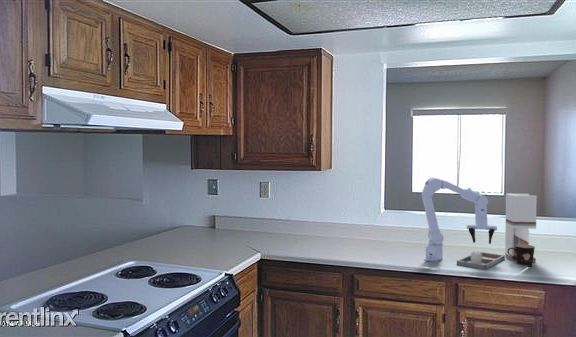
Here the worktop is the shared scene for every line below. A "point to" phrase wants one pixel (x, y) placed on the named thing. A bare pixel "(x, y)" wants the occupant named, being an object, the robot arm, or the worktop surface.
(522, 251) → the coffee mug
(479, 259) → the white rectangular block
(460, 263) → the tray
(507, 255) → the coffee maker
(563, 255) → the worktop surface
